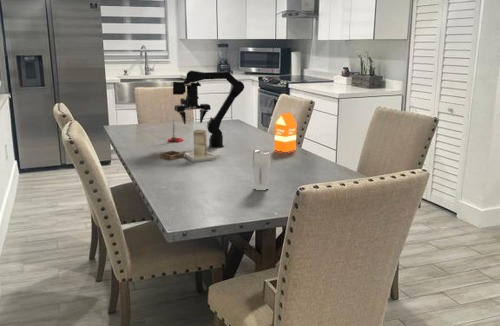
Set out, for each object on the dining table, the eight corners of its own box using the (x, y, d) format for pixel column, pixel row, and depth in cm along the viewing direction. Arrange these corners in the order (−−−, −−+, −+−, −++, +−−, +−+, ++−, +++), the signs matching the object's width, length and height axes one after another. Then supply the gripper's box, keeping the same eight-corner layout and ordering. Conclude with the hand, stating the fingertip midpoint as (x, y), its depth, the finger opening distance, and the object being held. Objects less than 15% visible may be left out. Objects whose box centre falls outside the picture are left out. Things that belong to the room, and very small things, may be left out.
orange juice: (295, 150, 259) (297, 113, 254) (285, 153, 252) (286, 115, 247) (284, 148, 264) (285, 111, 259) (274, 150, 257) (274, 113, 253)
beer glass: (251, 186, 194) (251, 149, 191) (268, 186, 195) (269, 149, 191) (253, 191, 187) (253, 153, 184) (270, 191, 188) (271, 153, 184)
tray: (207, 154, 248) (207, 151, 247) (216, 159, 237) (216, 156, 237) (184, 156, 242) (184, 153, 242) (193, 162, 232) (193, 158, 232)
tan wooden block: (197, 155, 243) (196, 129, 239) (206, 155, 242) (206, 130, 238) (193, 157, 238) (193, 131, 235) (203, 158, 237) (203, 131, 234)
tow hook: (171, 139, 287) (166, 141, 278) (171, 117, 284) (166, 119, 275) (185, 140, 286) (180, 142, 277) (184, 118, 283) (180, 120, 274)
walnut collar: (172, 154, 247) (172, 150, 247) (184, 156, 242) (184, 153, 242) (159, 157, 241) (159, 153, 240) (171, 160, 236) (171, 156, 235)
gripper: (203, 92, 269) (203, 120, 273) (170, 93, 261) (171, 122, 265) (210, 94, 259) (211, 123, 263) (177, 95, 251) (178, 125, 255)
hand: (192, 123), depth 262 cm, fingers open, 9 cm apart
